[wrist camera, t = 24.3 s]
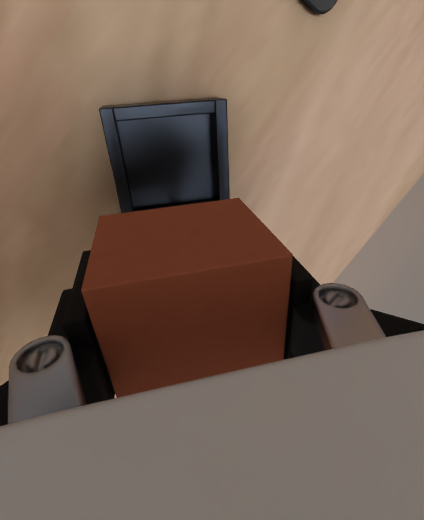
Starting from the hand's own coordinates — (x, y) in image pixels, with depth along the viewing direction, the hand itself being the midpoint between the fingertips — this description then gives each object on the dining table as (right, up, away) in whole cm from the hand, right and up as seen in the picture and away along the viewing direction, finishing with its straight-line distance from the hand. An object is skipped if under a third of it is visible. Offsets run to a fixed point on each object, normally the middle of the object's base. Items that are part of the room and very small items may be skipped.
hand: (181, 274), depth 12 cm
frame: (-2, +5, +14) cm, 15 cm away
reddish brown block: (0, 0, +1) cm, 1 cm away
